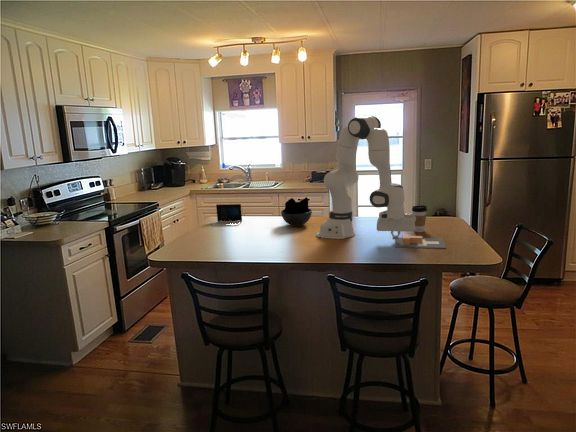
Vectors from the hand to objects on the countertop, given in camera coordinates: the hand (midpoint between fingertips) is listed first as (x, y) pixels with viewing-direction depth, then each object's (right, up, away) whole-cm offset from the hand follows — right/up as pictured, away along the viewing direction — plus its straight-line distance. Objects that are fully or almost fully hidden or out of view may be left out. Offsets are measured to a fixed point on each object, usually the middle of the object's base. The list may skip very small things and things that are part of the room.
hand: (395, 238), depth 228 cm
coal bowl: (-52, +6, +48) cm, 71 cm away
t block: (+9, -2, -2) cm, 9 cm away
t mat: (+12, -2, -2) cm, 12 cm away
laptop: (-100, +6, +63) cm, 119 cm away
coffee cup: (+20, +3, +22) cm, 30 cm away
